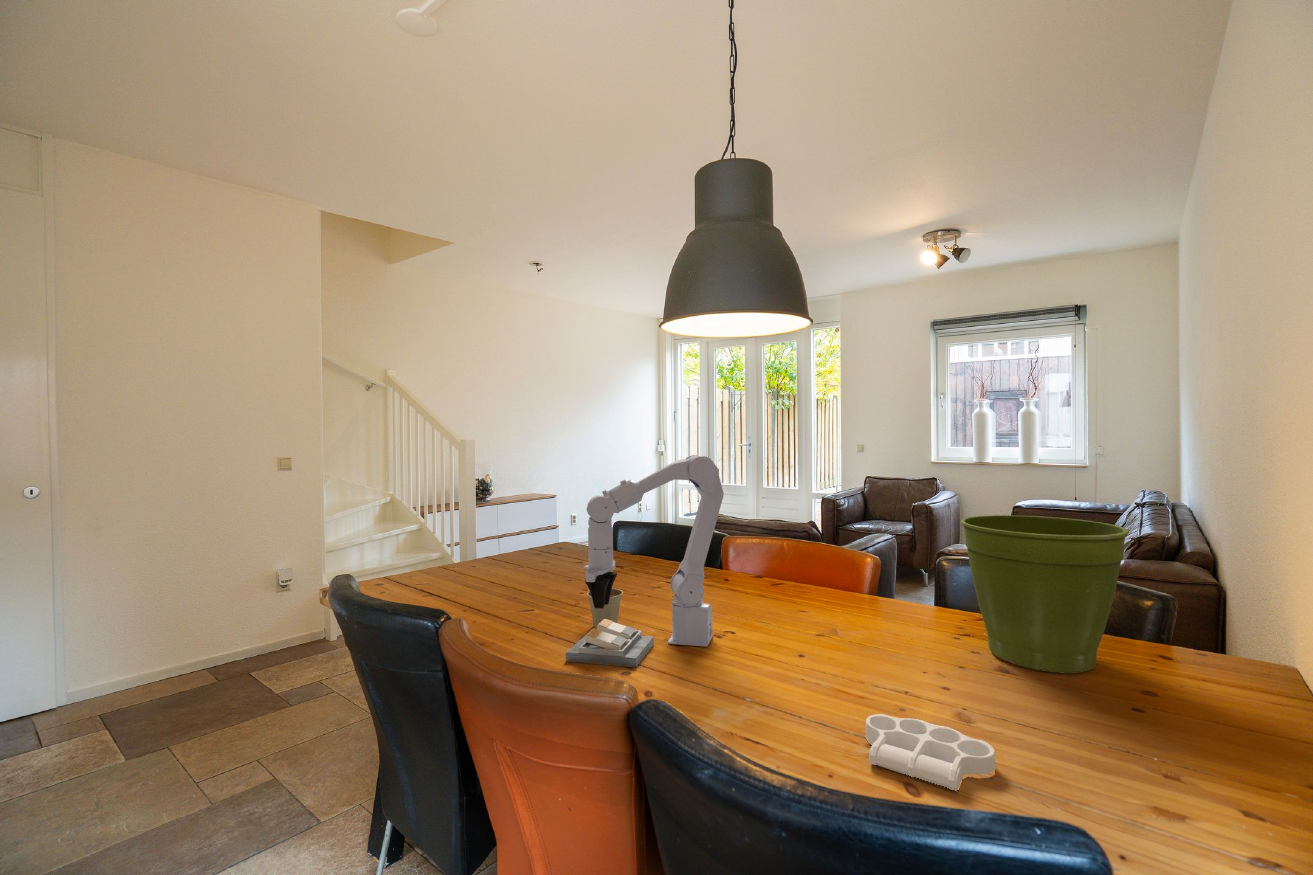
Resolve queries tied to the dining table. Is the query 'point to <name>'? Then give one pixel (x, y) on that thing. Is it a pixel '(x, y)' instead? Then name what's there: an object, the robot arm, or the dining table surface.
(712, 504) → the robot arm
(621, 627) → the block
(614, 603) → the flower pot
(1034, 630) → the plant pot
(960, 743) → the knuckle duster
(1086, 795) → the dining table surface
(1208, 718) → the dining table surface
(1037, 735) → the dining table surface
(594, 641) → the breaker
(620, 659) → the panel
